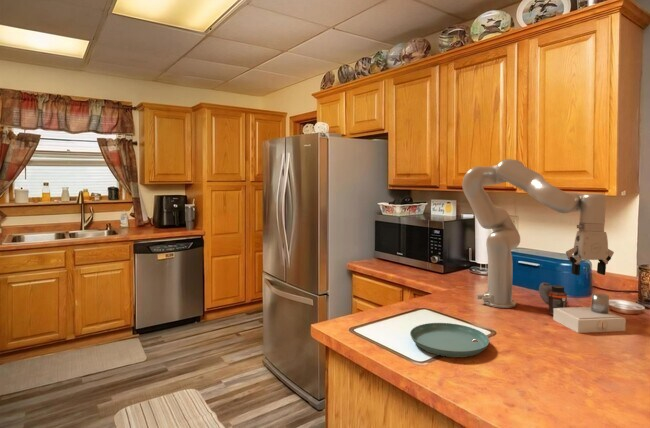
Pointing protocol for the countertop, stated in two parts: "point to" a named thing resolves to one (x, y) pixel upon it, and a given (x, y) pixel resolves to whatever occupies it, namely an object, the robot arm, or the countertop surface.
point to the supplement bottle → (557, 298)
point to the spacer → (600, 303)
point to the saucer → (449, 339)
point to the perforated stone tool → (545, 291)
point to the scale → (588, 320)
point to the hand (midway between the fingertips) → (588, 274)
